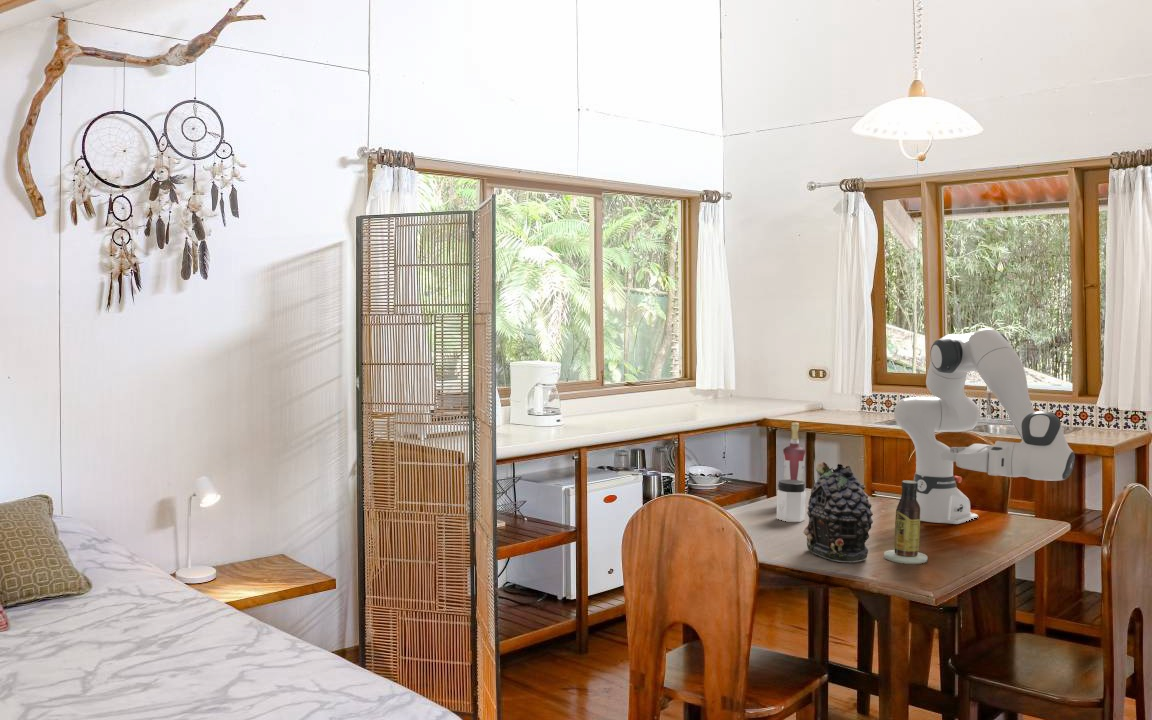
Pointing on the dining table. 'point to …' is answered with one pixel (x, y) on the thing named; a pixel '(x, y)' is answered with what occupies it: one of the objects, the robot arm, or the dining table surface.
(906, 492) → the sauce bottle
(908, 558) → the round plate
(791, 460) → the liquor
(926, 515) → the robot arm
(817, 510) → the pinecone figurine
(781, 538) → the dining table surface
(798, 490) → the jar
